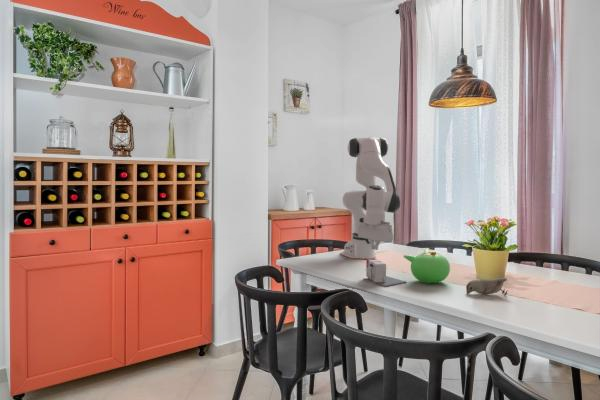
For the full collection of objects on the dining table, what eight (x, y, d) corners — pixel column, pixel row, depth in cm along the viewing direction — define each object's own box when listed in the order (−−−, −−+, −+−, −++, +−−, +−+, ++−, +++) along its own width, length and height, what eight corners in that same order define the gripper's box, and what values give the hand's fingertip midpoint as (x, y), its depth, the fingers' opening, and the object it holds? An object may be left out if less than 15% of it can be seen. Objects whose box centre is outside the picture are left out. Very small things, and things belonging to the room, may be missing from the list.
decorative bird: (464, 292, 178) (465, 274, 178) (504, 294, 177) (505, 276, 176) (467, 296, 173) (468, 277, 172) (509, 297, 171) (509, 279, 171)
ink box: (365, 259, 199) (376, 264, 188) (375, 258, 200) (386, 263, 189) (365, 277, 200) (376, 283, 188) (375, 276, 201) (386, 282, 189)
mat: (363, 280, 196) (363, 278, 196) (383, 276, 203) (383, 275, 203) (385, 287, 184) (385, 285, 184) (406, 282, 192) (406, 281, 191)
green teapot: (430, 289, 181) (431, 255, 180) (401, 280, 195) (401, 249, 194) (457, 283, 191) (458, 251, 190) (427, 275, 205) (428, 245, 204)
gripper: (396, 222, 191) (395, 252, 192) (365, 217, 208) (364, 245, 209) (386, 222, 188) (385, 253, 189) (355, 218, 205) (355, 246, 206)
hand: (374, 249), depth 199 cm, fingers closed
